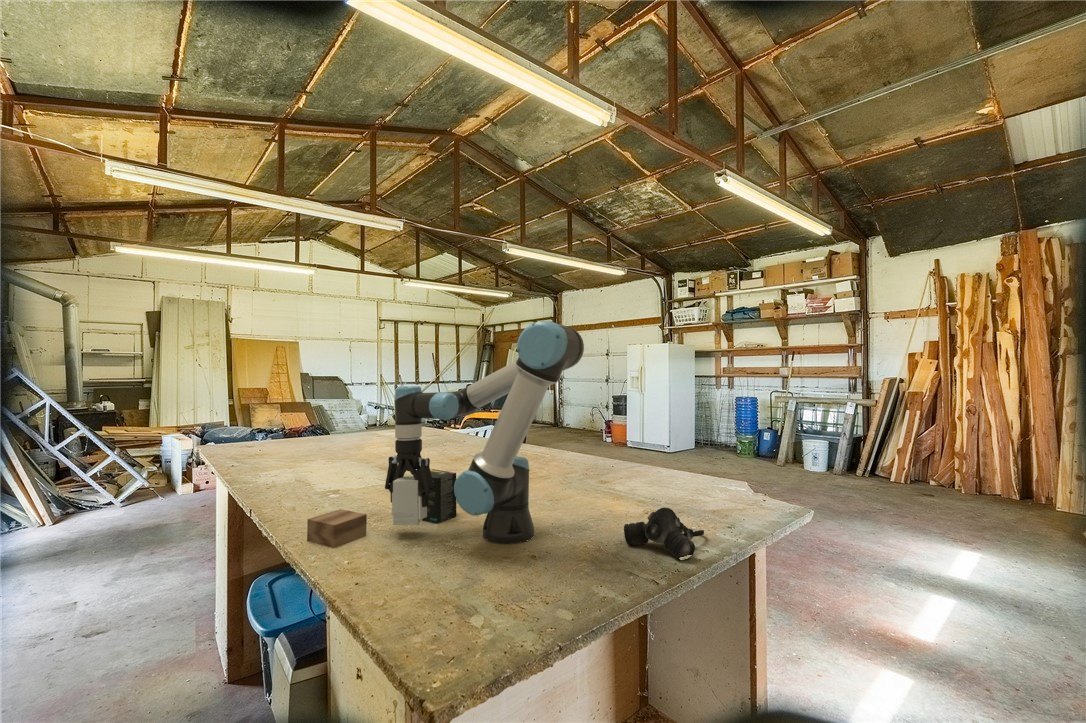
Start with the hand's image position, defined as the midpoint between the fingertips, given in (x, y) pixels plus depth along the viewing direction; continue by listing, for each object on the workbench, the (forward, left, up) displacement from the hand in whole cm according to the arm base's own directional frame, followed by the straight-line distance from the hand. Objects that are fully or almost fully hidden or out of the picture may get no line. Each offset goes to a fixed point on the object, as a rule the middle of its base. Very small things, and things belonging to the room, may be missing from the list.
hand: (409, 516), depth 135 cm
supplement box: (0, 0, -2) cm, 2 cm away
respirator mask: (-69, -31, -6) cm, 76 cm away
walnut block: (+17, +11, -6) cm, 21 cm away
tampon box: (+5, -17, -6) cm, 19 cm away
